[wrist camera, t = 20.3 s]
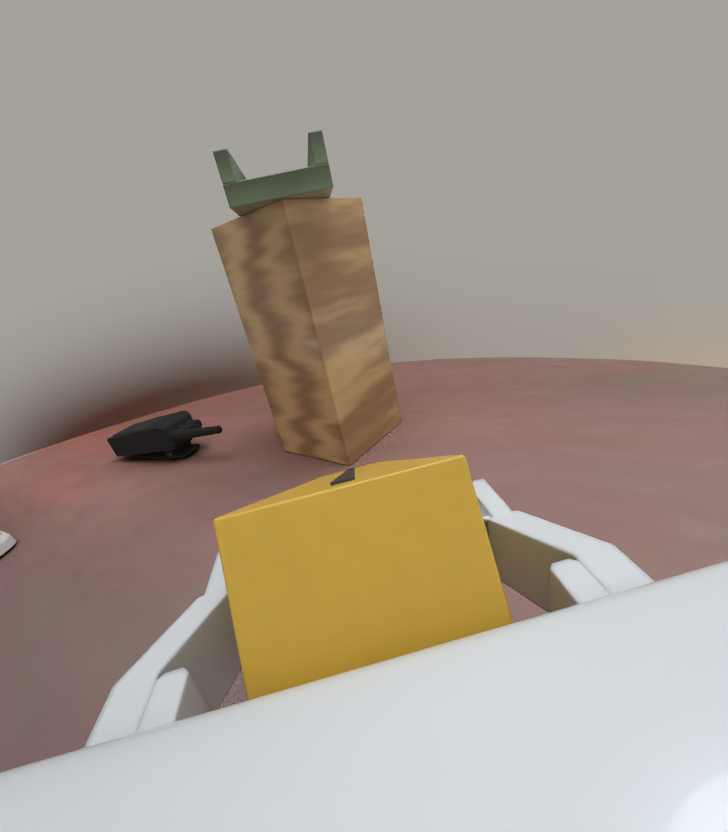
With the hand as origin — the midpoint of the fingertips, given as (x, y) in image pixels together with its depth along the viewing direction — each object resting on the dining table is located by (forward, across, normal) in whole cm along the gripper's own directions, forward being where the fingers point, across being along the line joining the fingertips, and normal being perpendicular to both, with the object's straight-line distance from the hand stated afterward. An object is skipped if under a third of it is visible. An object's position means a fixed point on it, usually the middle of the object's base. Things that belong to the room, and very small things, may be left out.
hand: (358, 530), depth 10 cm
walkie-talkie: (+37, +21, +11) cm, 44 cm away
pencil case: (+5, 0, +6) cm, 7 cm away
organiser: (+30, 0, +11) cm, 32 cm away
